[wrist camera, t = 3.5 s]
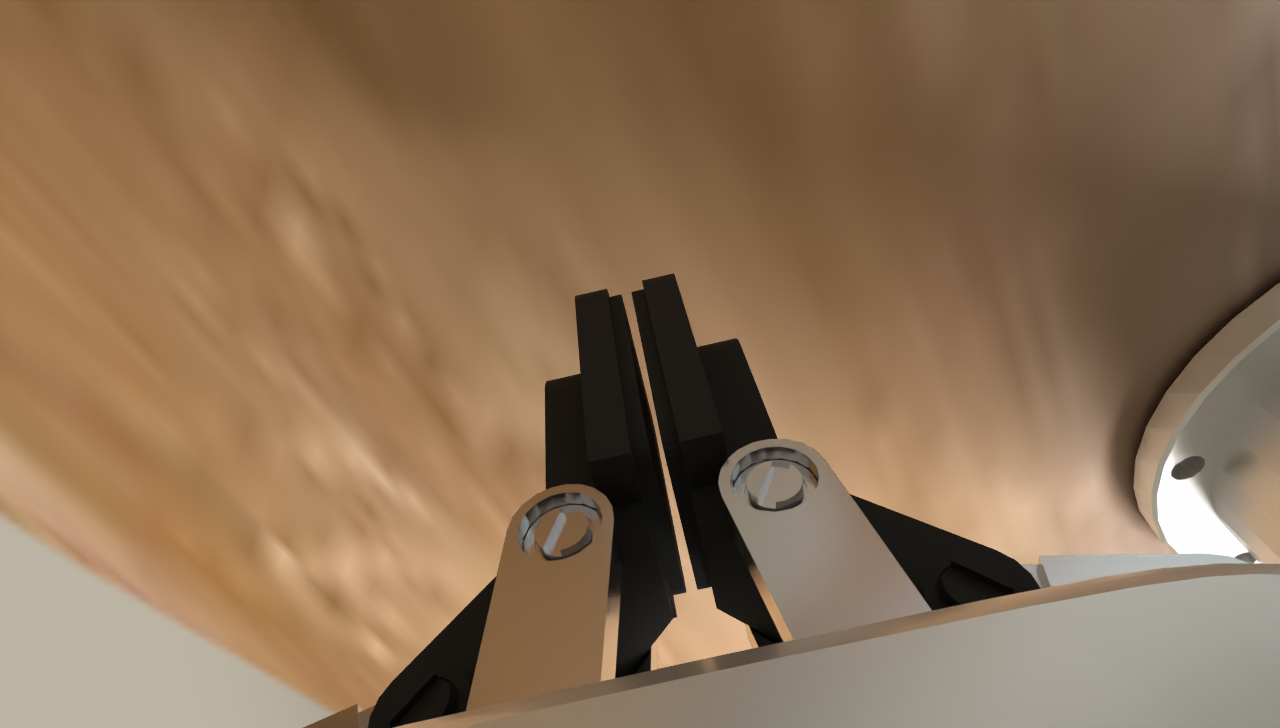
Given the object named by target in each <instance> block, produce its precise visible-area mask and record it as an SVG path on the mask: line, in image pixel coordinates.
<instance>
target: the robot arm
mask: <svg viewBox="0 0 1280 728" xmlns="http://www.w3.org/2000/svg"><path fill="white" fill-rule="evenodd" d="M642 282H643V287H644V289H643V290H638V291H634V292H632V297H633V302H634V307H635V312H636V317H637V322H638V327H639V332H640V337H641V342H642V347H643V352H644V356H645V361H646V366H647V371H648V376H649V381H650V386H651V391H652V396H653V401H654V406H655V411H656V416H657V421H658V426H659V431H660V435H661V440H662V445H663V449H664V453H665V458H666V462H667V466H668V470H669V474H670V478H671V482H672V487H673V491H674V495H675V499H676V503H677V507H678V511H679V515H680V519H681V523H682V528H683V532H684V536H685V540H686V544H687V548H688V552H689V556H690V560H691V564H692V569H693V573H694V577H695V581H696V585H697V589H698V590H699V589H703V588H708V587H712V589H713V594H714V598H715V603H716V607H717V609H719V610H721V611H723V612H725V613H727V614H728V615H730V616H732V617H734V618H736V619H738V620H739V621H741V622H743V623H745V627H746V631H747V635H748V638H749V641H750V643H751V645H752V647H753V649H749V650H744V651H740V652H735V653H730V654H726V655H721V656H716V657H712V658H707V659H702V660H698V661H693V662H689V663H684V664H679V665H675V666H670V667H665V668H661V669H659V655H658V649H657V643H656V640H657V638H658V637H659V636H660V635H661V633H662V632H663V631H664V629H665V628H666V627H667V625H668V624H669V623H670V622H671V620H672V619H673V618H675V617H677V614H676V608H675V603H674V597H673V595H676V594H681V593H685V592H686V587H685V582H684V577H683V571H682V566H681V561H680V556H679V551H678V546H677V541H676V535H675V530H674V525H673V520H672V515H671V510H670V505H669V500H668V494H667V489H666V484H665V479H664V474H663V469H662V464H661V458H660V453H659V448H658V443H657V438H656V433H655V428H654V424H653V419H652V415H651V411H650V407H649V403H648V399H647V395H646V391H645V387H644V383H643V379H642V375H641V371H640V367H639V363H638V359H637V355H636V351H635V347H634V343H633V339H632V334H631V330H630V326H629V322H628V318H627V314H626V310H625V306H624V302H623V298H622V295H617V296H612V297H609V293H608V290H607V289H604V290H600V291H595V292H591V293H587V294H582V295H578V296H575V306H576V319H577V332H578V345H579V359H580V372H581V374H577V375H573V376H568V377H564V378H559V379H555V380H551V381H547V382H546V384H545V445H546V490H545V491H543V492H540V493H538V494H536V495H535V496H533V497H532V498H531V499H529V500H528V501H527V502H525V503H524V504H523V505H522V506H521V507H520V508H519V510H518V511H517V512H516V513H515V515H514V516H513V517H512V520H511V522H510V524H509V527H508V529H507V533H506V537H505V541H504V546H503V550H502V555H501V559H500V563H499V568H498V572H497V576H496V577H495V578H494V579H493V580H492V581H491V582H490V583H489V584H488V585H487V586H486V587H485V588H484V589H483V590H482V591H481V592H480V593H479V594H478V595H477V596H476V597H475V598H474V599H473V600H472V601H471V602H470V603H469V604H468V605H467V606H466V607H465V608H464V609H463V610H462V611H461V612H460V613H459V614H458V615H457V616H456V617H455V619H454V620H453V621H452V622H451V623H450V624H449V625H448V626H447V627H446V628H445V629H444V630H443V631H442V632H441V633H440V634H439V635H438V636H437V637H436V638H435V639H434V640H433V641H432V642H431V643H430V644H429V645H428V646H427V647H426V648H425V649H424V650H423V651H422V652H421V653H420V654H419V655H418V656H417V657H416V658H415V659H414V660H413V661H412V662H411V663H410V664H409V665H408V666H407V667H406V668H405V669H404V670H403V671H402V672H401V673H400V674H399V675H398V676H397V677H396V678H395V679H394V680H393V681H392V682H391V684H390V685H389V686H388V687H387V689H386V690H385V691H384V692H383V694H382V695H381V696H380V697H379V699H378V701H377V703H376V705H375V706H372V707H370V708H368V709H366V710H362V708H361V707H360V706H359V705H358V704H356V705H354V706H351V707H349V708H347V709H345V710H342V711H340V712H338V713H335V714H333V715H331V716H329V717H326V718H324V719H322V720H320V721H317V722H315V723H313V724H310V725H308V726H306V727H304V728H1280V283H1278V284H1277V285H1275V286H1274V287H1273V288H1271V289H1270V290H1269V291H1268V292H1266V293H1265V294H1264V295H1262V296H1261V297H1260V298H1259V299H1257V300H1256V301H1255V302H1253V303H1252V304H1251V305H1249V306H1248V307H1247V308H1246V309H1244V310H1243V311H1242V312H1240V313H1239V314H1238V315H1237V316H1235V317H1234V318H1233V319H1232V320H1231V321H1230V322H1229V323H1228V324H1226V325H1225V326H1224V327H1223V328H1222V329H1221V330H1220V331H1219V332H1218V333H1217V334H1216V335H1215V336H1214V337H1213V338H1212V339H1211V340H1210V341H1209V342H1208V343H1207V344H1206V345H1205V346H1204V347H1203V348H1202V349H1201V350H1200V351H1199V352H1198V353H1197V354H1196V355H1195V356H1194V357H1193V358H1192V360H1191V361H1190V362H1189V363H1188V365H1187V366H1186V367H1185V368H1184V370H1183V371H1182V372H1181V373H1180V375H1179V376H1178V377H1177V378H1176V380H1175V381H1174V382H1173V383H1172V385H1171V386H1170V387H1169V388H1168V390H1167V391H1166V393H1165V395H1164V396H1163V398H1162V400H1161V402H1160V403H1159V405H1158V407H1157V409H1156V410H1155V412H1154V414H1153V416H1152V417H1151V419H1150V421H1149V423H1148V424H1147V426H1146V429H1145V432H1144V435H1143V438H1142V441H1141V444H1140V447H1139V450H1138V453H1137V456H1136V459H1135V471H1134V485H1133V488H1134V492H1135V496H1136V500H1137V504H1138V508H1139V511H1140V512H1141V514H1142V515H1143V517H1144V518H1145V520H1146V521H1147V523H1148V524H1149V526H1150V527H1151V529H1152V530H1153V531H1154V532H1155V533H1156V535H1157V536H1158V537H1159V538H1160V539H1161V540H1162V541H1163V542H1164V544H1165V545H1166V546H1167V547H1168V548H1169V549H1170V550H1171V551H1172V552H1173V553H1174V554H1118V555H1054V556H1039V560H1038V564H1027V565H1020V564H1019V563H1018V562H1017V561H1016V560H1014V559H1012V558H1010V557H1008V556H1006V555H1004V554H1002V553H1001V552H999V551H997V550H994V549H992V548H989V547H986V546H984V545H981V544H979V543H976V542H973V541H971V540H968V539H965V538H963V537H960V536H958V535H955V534H952V533H950V532H947V531H945V530H942V529H939V528H937V527H934V526H932V525H929V524H926V523H924V522H921V521H919V520H916V519H913V518H911V517H908V516H906V515H903V514H900V513H898V512H895V511H893V510H890V509H887V508H885V507H882V506H879V505H877V504H874V503H872V502H869V501H866V500H864V499H861V498H859V497H856V496H853V495H851V494H849V493H848V491H847V490H846V488H845V487H844V485H843V484H842V483H841V481H840V480H839V478H838V477H837V476H836V474H835V473H834V471H833V470H832V469H831V467H830V466H829V464H828V463H827V461H826V460H825V459H824V458H823V457H822V456H821V455H820V454H819V453H818V452H817V451H816V450H815V449H813V448H811V447H809V446H807V445H805V444H803V443H800V442H796V441H792V440H787V439H778V438H777V436H776V433H775V431H774V428H773V426H772V423H771V421H770V418H769V416H768V413H767V411H766V408H765V406H764V403H763V401H762V398H761V395H760V393H759V390H758V388H757V385H756V383H755V380H754V378H753V375H752V373H751V370H750V368H749V365H748V363H747V360H746V358H745V355H744V353H743V350H742V348H741V345H740V343H739V341H738V339H736V338H735V339H731V340H727V341H722V342H718V343H713V344H709V345H705V346H700V347H697V346H696V343H695V340H694V336H693V333H692V330H691V327H690V323H689V320H688V317H687V314H686V310H685V307H684V304H683V301H682V297H681V294H680V291H679V288H678V285H677V281H676V278H675V275H674V274H669V275H665V276H661V277H656V278H652V279H648V280H643V281H642Z"/></svg>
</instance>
